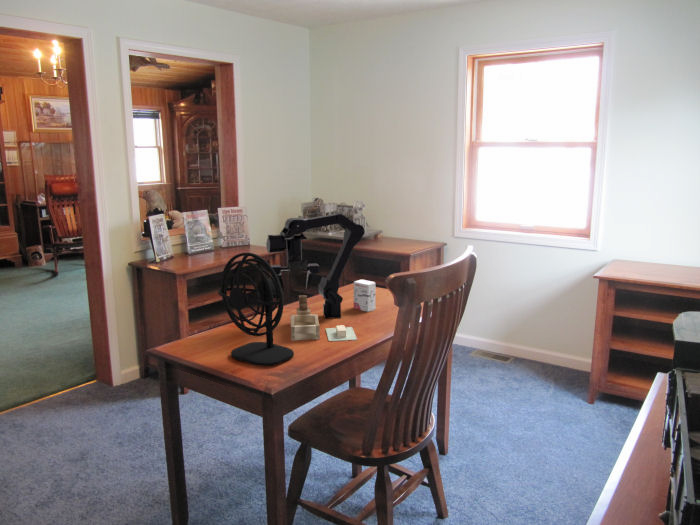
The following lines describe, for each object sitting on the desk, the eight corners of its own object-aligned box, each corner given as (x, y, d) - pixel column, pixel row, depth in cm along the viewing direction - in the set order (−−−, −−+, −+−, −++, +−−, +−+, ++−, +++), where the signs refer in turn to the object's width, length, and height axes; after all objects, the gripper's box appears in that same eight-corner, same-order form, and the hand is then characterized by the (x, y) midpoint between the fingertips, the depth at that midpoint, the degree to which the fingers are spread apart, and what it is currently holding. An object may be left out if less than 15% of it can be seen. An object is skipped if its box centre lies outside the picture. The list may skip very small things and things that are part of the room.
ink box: (352, 308, 236) (352, 281, 234) (360, 305, 240) (360, 279, 238) (368, 312, 231) (368, 284, 228) (376, 309, 234) (376, 282, 232)
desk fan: (211, 356, 183) (204, 251, 176) (250, 341, 197) (245, 243, 190) (271, 375, 168) (266, 261, 161) (309, 357, 182) (306, 251, 174)
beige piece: (316, 321, 218) (316, 307, 217) (319, 339, 199) (319, 323, 198) (290, 323, 217) (290, 308, 216) (291, 340, 198) (290, 324, 197)
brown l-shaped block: (306, 304, 220) (306, 295, 219) (307, 309, 213) (307, 300, 212) (299, 304, 220) (298, 295, 219) (299, 309, 213) (299, 300, 212)
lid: (352, 329, 211) (351, 320, 210) (357, 341, 198) (357, 332, 197) (325, 331, 210) (325, 322, 209) (329, 343, 197) (328, 334, 196)
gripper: (270, 255, 206) (271, 297, 209) (320, 254, 209) (321, 294, 212) (269, 250, 216) (270, 289, 220) (317, 249, 219) (318, 287, 222)
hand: (295, 290), depth 218 cm, fingers open, 9 cm apart
